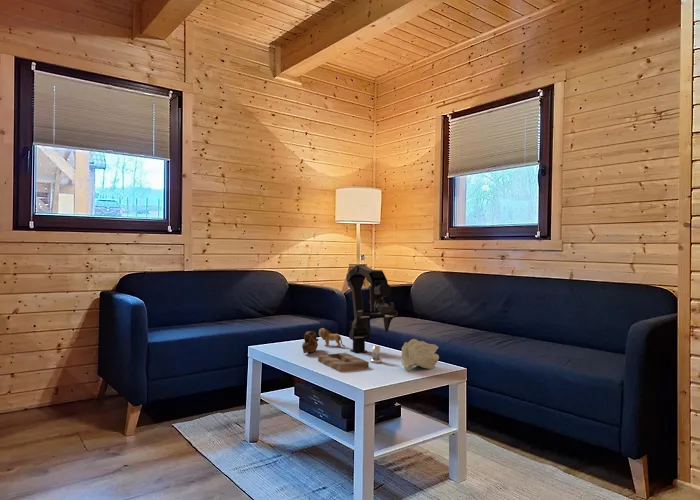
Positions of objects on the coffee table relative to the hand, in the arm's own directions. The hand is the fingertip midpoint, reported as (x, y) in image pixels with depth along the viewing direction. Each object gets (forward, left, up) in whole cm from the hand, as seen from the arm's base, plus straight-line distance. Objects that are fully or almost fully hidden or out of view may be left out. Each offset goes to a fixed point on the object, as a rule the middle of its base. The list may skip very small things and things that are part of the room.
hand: (378, 332), depth 216 cm
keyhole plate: (-3, -16, -13) cm, 21 cm away
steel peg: (-1, 0, -13) cm, 13 cm away
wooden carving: (-31, -18, -13) cm, 38 cm away
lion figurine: (-39, -3, -13) cm, 41 cm away
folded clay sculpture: (+16, +10, -13) cm, 23 cm away
